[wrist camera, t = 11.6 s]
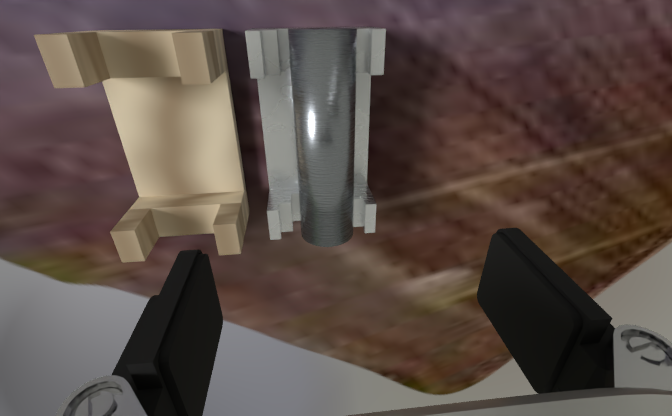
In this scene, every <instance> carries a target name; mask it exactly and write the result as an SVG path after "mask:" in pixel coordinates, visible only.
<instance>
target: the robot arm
mask: <svg viewBox="0 0 672 416" xmlns="http://www.w3.org/2000/svg"><path fill="white" fill-rule="evenodd" d="M477 299H478V302H479V304H480V306H481V307H482V309H483V310H484V312H485V314H486V315H487V317H488V318H489V320H490V321H491V323H492V325H493V326H494V328H495V329H496V331H497V332H498V334H499V336H500V337H501V339H502V340H503V342H504V343H505V345H506V347H507V348H508V350H509V351H510V353H511V354H512V356H513V358H514V359H515V361H516V362H517V364H518V365H519V367H520V368H521V370H522V372H523V373H524V375H525V376H526V378H527V379H528V381H529V383H530V384H531V386H532V387H533V389H534V390H535V391H536V392H537V393H538V394H534V395H525V396H515V397H506V398H497V399H488V400H480V401H469V402H461V403H452V404H443V405H434V406H426V407H417V408H408V409H400V410H391V411H382V412H373V413H365V414H356V415H348V416H672V343H671V342H670V341H669V340H668V339H666V338H664V337H663V336H661V335H660V334H658V333H656V332H654V331H651V330H649V329H647V328H643V327H640V326H636V325H621V326H618V327H617V328H616V329H615V328H614V327H613V326H612V325H611V324H610V322H611V320H612V318H611V316H609V315H608V314H607V313H606V312H605V311H604V310H603V309H602V308H601V307H600V306H599V305H598V304H597V303H596V302H595V301H594V300H593V299H592V298H591V297H590V296H589V295H588V294H587V293H586V292H584V291H583V290H582V289H581V288H580V287H579V286H578V285H577V284H576V283H575V282H574V281H573V280H572V279H571V278H570V277H569V276H568V275H567V274H566V273H565V272H564V271H563V270H562V269H561V268H559V267H558V266H557V265H556V264H555V263H554V262H553V261H552V260H551V259H550V258H549V257H548V256H547V255H546V254H545V253H544V252H543V251H542V250H541V249H540V248H539V247H538V246H537V245H535V244H534V243H533V242H532V241H531V240H530V239H529V238H528V237H527V236H526V235H525V234H524V233H523V232H522V231H521V230H520V229H518V228H506V229H499V230H498V231H497V232H496V233H495V234H493V235H492V238H491V242H490V245H489V249H488V253H487V257H486V261H485V265H484V269H483V272H482V276H481V280H480V284H479V288H478V292H477ZM222 325H223V316H222V311H221V307H220V303H219V299H218V294H217V290H216V286H215V282H214V278H213V273H212V269H211V265H210V261H209V257H208V255H207V254H202V252H201V250H186V251H180V252H179V254H178V256H177V258H176V260H175V262H174V265H173V267H172V269H171V271H170V273H169V275H168V277H167V279H166V281H165V284H164V286H163V288H162V290H161V292H160V294H159V295H154V296H152V297H151V298H150V300H149V301H148V303H147V305H146V307H145V309H144V311H143V313H142V315H141V317H140V319H139V321H138V323H137V325H136V327H135V329H134V331H133V333H132V335H131V337H130V339H129V341H128V343H127V345H126V347H125V349H124V351H123V353H122V355H121V357H120V359H119V361H118V363H117V365H116V367H115V369H114V371H113V373H112V375H108V376H103V377H99V378H95V379H93V380H91V381H89V382H87V383H85V384H84V385H82V386H81V387H79V388H78V389H76V390H75V391H74V392H73V393H72V394H71V395H70V396H69V397H68V398H67V399H66V400H65V401H64V402H63V404H62V405H61V406H60V408H59V409H58V411H57V413H56V416H202V415H203V410H204V406H205V401H206V397H207V392H208V387H209V383H210V378H211V374H212V370H213V366H214V361H215V357H216V352H217V348H218V343H219V339H220V334H221V330H222Z"/></svg>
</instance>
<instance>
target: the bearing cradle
mask: <svg viewBox="0 0 672 416" xmlns="http://www.w3.org/2000/svg"><path fill="white" fill-rule="evenodd" d="M34 37H35V39H36V42H37V44H38V47H39V50H40V52H41V55H42V57H43V60H44V62H45V65H46V68H47V70H48V73H49V75H50V78H51V81H52V83H53V86H54V88H75V87H87V86H90V85H93V84H96V83H99V82H101V81H102V82H103V85H104V88H105V91H106V94H107V98H108V101H109V104H110V107H111V110H112V113H113V116H114V119H115V122H116V126H117V129H118V132H119V135H120V138H121V141H122V144H123V147H124V151H125V154H126V157H127V160H128V163H129V166H130V169H131V172H132V175H133V179H134V182H135V185H136V188H137V191H138V194H139V198H138V199H137V201H136V202H135V203H134V204H133V205H132V207H131V208H130V209H129V210H128V211H127V213H126V214H125V215H124V216H123V217H122V219H121V220H120V221H119V222H118V223H117V225H116V226H115V227H114V228H113V229H112V230H111V232H110V233H111V235H112V238H113V240H114V243H115V245H116V248H117V251H118V253H119V256H120V258H121V261H122V262H136V261H145V260H146V258H147V257H148V255H149V253H150V252H151V250H152V248H153V247H154V245H155V243H156V241H157V240H158V238H159V237H163V236H178V235H193V234H207V233H214V234H215V238H216V243H217V248H218V252H219V255H230V254H241V250H242V246H243V241H244V236H245V231H246V227H247V222H248V217H249V205H248V198H247V192H246V185H245V178H244V172H243V165H242V158H241V152H240V145H239V138H238V132H237V125H236V118H235V112H234V105H233V98H232V92H231V85H230V79H229V72H228V65H227V59H226V52H225V45H224V39H223V32H222V29H173V30H100V31H82V32H68V33H54V34H40V35H34Z"/></svg>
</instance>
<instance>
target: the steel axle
mask: <svg viewBox="0 0 672 416" xmlns="http://www.w3.org/2000/svg"><path fill="white" fill-rule="evenodd" d="M288 40H289V55H290V70H291V85H292V99H293V114H294V129H295V144H296V159H297V173H298V188H299V203H300V218H301V232H302V237H303V238H304V240H305V241H307V242H308V243H310V244H313V245H316V246H321V247H332V246H337V245H341V244H343V243H345V242H347V241H348V240H349V239H350V238H351V237H352V235H353V213H354V160H355V107H356V53H357V28H295V29H288Z"/></svg>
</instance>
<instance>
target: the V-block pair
mask: <svg viewBox="0 0 672 416" xmlns="http://www.w3.org/2000/svg"><path fill="white" fill-rule="evenodd" d="M320 28H357V53H356V107H355V160H354V213H353V227H359V226H362V227H363V229H364V232H365V233H373V232H375V222H376V202H375V200H374V198H373V195H372V193H371V191H370V189H369V187H368V184H367V167H368V140H369V114H370V87H371V75H383V74H384V56H385V37H386V29H383V28H376V27H320ZM288 29H295V28H252V29H249V30H246V31H245V36H246V44H247V52H248V60H249V68H250V77H251V78H257V82H258V90H259V99H260V108H261V117H262V126H263V135H264V143H265V152H266V161H267V170H268V179H269V187H270V190H269V198H268V206H267V216H268V224H269V232H270V240H275V239H281V232H287V231H293V221H301V218H300V203H299V188H298V173H297V159H296V144H295V129H294V114H293V99H292V85H291V70H290V55H289V40H288Z"/></svg>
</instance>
